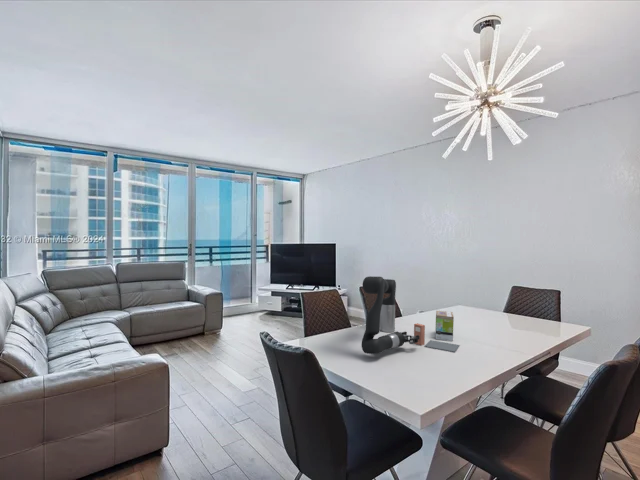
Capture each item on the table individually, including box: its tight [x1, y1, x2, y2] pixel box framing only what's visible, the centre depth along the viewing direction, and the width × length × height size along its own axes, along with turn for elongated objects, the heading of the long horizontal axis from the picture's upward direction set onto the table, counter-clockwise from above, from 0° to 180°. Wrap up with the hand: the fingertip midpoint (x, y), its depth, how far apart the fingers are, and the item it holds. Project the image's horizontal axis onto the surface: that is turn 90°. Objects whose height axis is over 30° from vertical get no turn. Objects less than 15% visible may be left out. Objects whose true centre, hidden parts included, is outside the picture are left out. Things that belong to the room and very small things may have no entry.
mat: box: [423, 339, 460, 353], centre depth 188 cm, size 16×13×1 cm
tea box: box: [435, 310, 455, 342], centre depth 206 cm, size 15×10×15 cm, turn 161°
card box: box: [413, 323, 426, 346], centre depth 192 cm, size 3×5×11 cm, turn 38°
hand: (412, 335), depth 188 cm, fingers open, 8 cm apart
